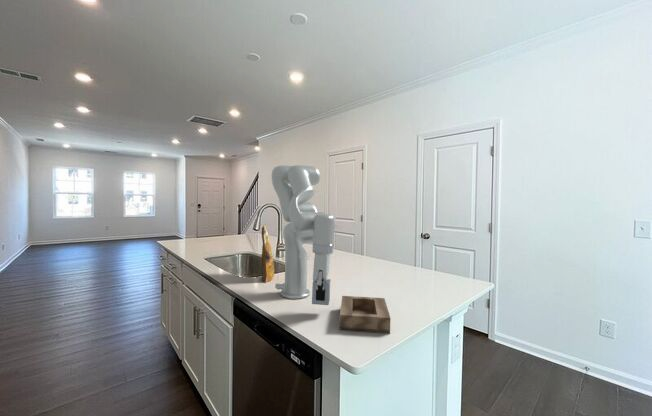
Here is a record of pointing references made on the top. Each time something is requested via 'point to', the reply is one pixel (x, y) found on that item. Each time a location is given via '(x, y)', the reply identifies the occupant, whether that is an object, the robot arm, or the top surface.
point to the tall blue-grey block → (327, 293)
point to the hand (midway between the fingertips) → (321, 297)
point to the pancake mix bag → (266, 257)
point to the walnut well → (364, 314)
